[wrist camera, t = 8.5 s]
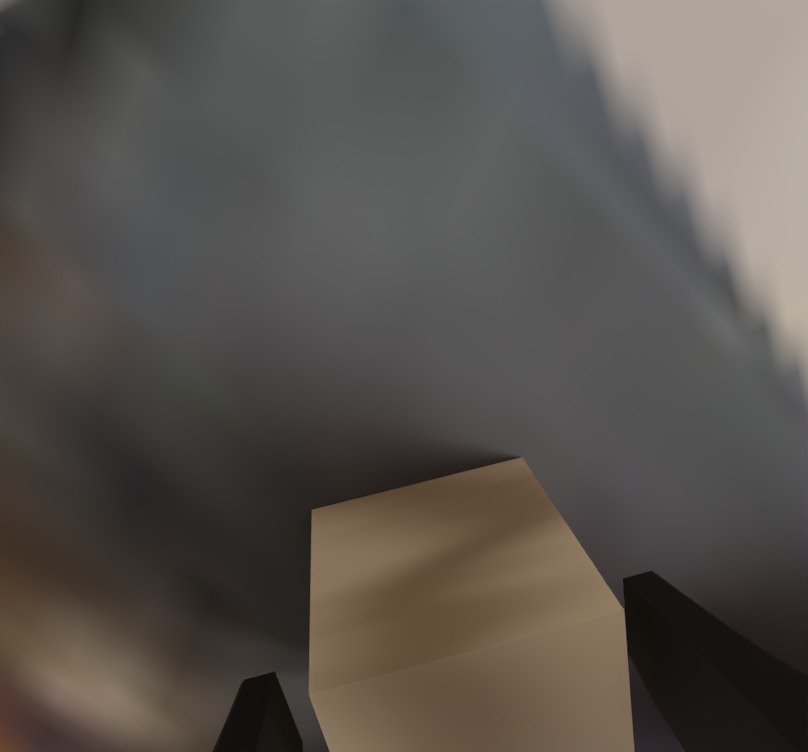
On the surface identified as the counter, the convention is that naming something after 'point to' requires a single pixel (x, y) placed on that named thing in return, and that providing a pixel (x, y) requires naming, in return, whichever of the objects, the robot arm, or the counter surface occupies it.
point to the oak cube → (463, 623)
